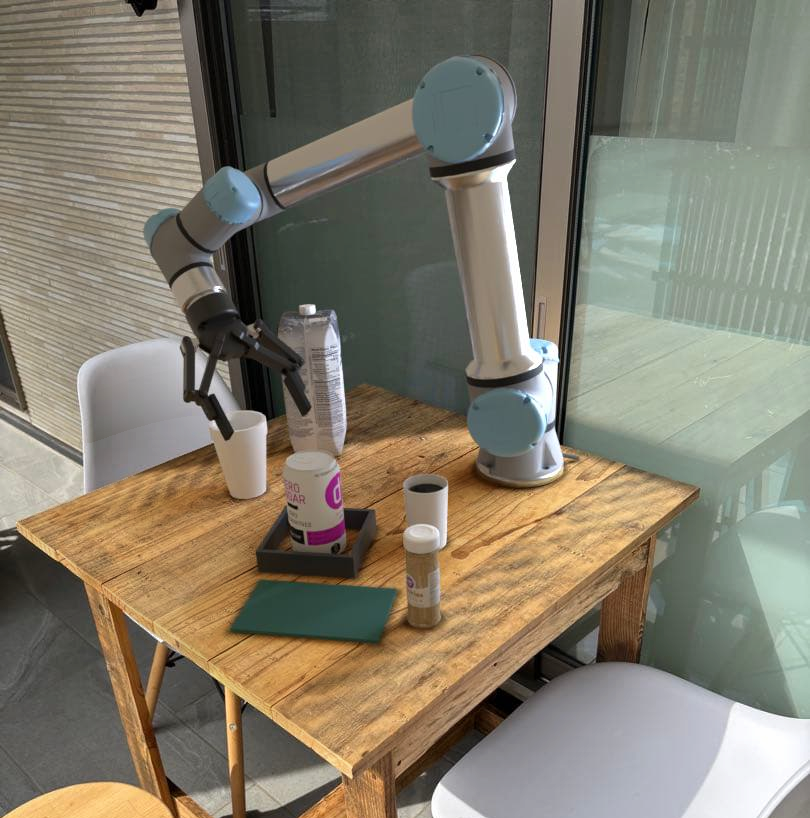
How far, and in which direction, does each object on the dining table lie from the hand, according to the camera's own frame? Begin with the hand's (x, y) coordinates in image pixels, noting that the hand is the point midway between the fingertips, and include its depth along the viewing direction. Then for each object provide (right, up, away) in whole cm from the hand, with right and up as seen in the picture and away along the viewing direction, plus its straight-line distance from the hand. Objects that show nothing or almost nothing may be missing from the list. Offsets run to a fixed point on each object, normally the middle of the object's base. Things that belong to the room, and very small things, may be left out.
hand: (269, 423), depth 128 cm
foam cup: (-7, -9, +20) cm, 23 cm away
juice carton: (+4, 0, +34) cm, 34 cm away
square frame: (+7, -19, +2) cm, 20 cm away
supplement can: (+7, -19, +2) cm, 20 cm away
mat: (+8, -27, -13) cm, 31 cm away
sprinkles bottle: (+23, -28, -15) cm, 39 cm away
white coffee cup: (+24, -18, +2) cm, 30 cm away
